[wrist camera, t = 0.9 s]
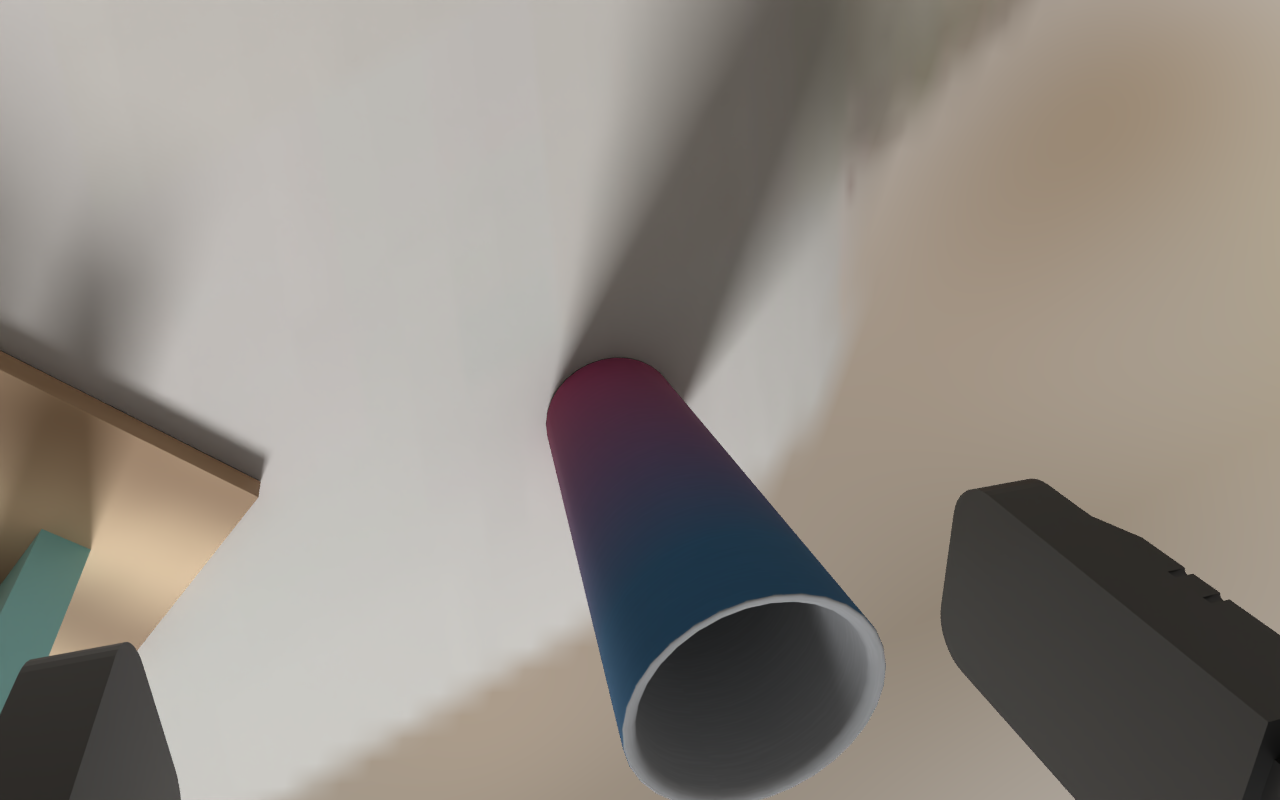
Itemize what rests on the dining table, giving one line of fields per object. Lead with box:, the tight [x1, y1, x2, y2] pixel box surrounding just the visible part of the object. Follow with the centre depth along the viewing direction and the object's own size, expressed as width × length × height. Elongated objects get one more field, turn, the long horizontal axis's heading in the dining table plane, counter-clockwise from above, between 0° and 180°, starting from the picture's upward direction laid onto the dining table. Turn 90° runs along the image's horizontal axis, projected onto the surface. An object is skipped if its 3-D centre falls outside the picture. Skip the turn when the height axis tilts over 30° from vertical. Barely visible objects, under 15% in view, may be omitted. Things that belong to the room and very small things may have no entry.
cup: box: [546, 358, 886, 800], centre depth 29 cm, size 7×7×15 cm
